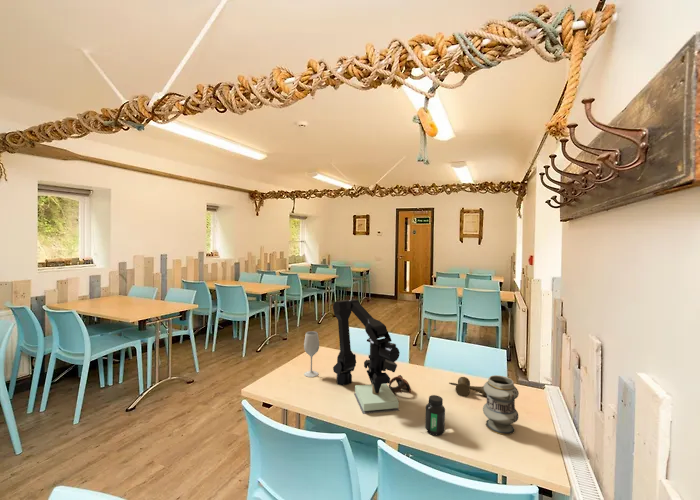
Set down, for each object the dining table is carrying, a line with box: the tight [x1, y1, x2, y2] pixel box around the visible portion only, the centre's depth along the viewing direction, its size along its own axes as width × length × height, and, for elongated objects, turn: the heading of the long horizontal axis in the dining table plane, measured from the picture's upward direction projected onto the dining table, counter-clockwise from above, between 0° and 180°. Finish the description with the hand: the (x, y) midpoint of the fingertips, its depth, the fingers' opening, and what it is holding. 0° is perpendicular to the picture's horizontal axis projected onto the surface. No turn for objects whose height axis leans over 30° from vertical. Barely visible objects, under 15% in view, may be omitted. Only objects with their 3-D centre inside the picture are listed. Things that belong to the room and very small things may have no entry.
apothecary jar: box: [482, 374, 519, 436], centre depth 122 cm, size 12×12×18 cm
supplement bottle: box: [424, 394, 446, 437], centre depth 119 cm, size 7×7×12 cm
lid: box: [354, 383, 400, 411], centre depth 138 cm, size 14×16×8 cm
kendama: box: [448, 376, 487, 397], centre depth 149 cm, size 6×10×20 cm
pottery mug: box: [388, 374, 412, 394], centre depth 149 cm, size 12×10×8 cm
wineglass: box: [303, 330, 320, 378], centre depth 166 cm, size 8×8×21 cm
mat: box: [353, 392, 400, 415], centre depth 138 cm, size 15×17×1 cm
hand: (375, 391), depth 138 cm, fingers closed on lid, 3 cm apart
